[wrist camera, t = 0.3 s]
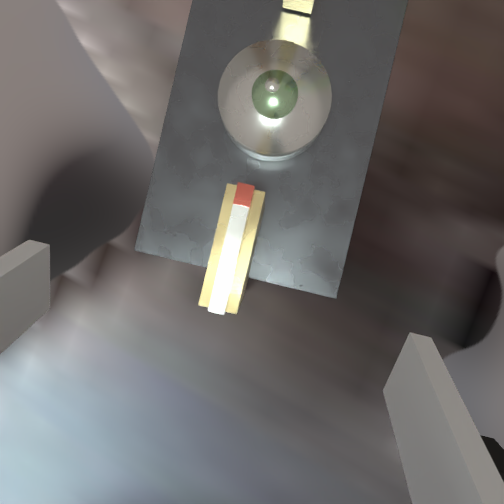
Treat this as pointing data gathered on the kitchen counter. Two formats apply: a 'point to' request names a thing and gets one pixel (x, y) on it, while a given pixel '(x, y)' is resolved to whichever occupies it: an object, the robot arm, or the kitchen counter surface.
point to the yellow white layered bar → (233, 248)
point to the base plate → (288, 185)
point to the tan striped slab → (299, 5)
